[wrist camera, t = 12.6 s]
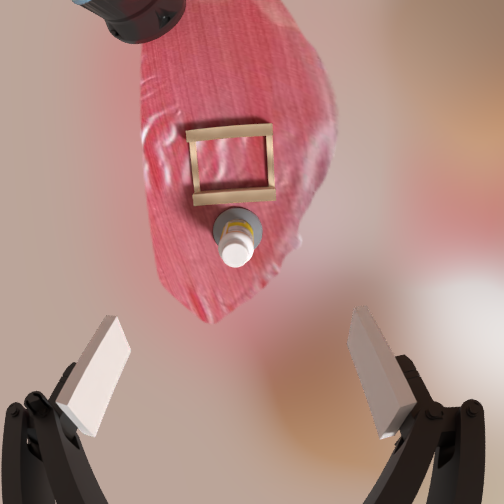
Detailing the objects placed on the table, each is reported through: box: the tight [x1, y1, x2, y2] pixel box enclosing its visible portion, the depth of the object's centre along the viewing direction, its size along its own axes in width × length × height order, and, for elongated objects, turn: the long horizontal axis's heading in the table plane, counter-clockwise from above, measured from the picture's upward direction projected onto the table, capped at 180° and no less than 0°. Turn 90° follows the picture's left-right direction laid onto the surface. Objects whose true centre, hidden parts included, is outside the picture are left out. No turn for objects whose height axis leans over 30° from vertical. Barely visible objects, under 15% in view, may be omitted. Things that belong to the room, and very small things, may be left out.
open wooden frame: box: [186, 123, 276, 206], centre depth 45 cm, size 13×14×2 cm
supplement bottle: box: [218, 218, 254, 267], centre depth 46 cm, size 6×6×10 cm
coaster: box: [213, 208, 262, 249], centre depth 51 cm, size 9×9×1 cm
